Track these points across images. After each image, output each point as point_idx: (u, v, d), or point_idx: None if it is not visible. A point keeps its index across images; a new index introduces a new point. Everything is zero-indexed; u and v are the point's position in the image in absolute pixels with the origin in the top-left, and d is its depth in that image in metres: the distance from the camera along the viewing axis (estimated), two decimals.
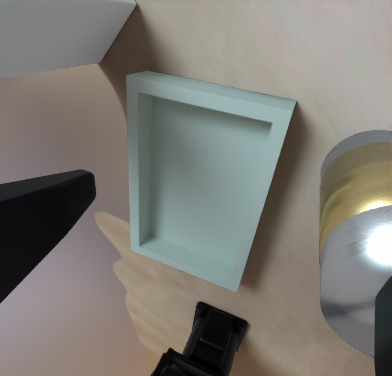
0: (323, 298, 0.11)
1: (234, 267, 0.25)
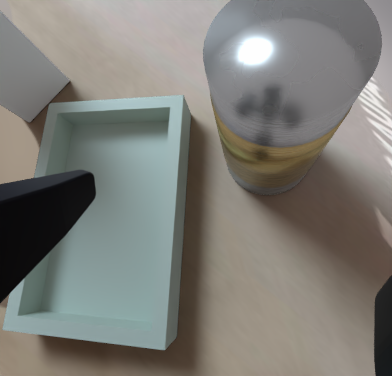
0: (208, 70, 0.11)
1: (156, 294, 0.18)
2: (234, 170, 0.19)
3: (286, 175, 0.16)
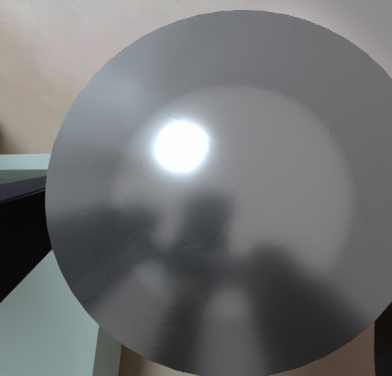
0: (51, 211, 0.05)
1: None
2: None
3: None
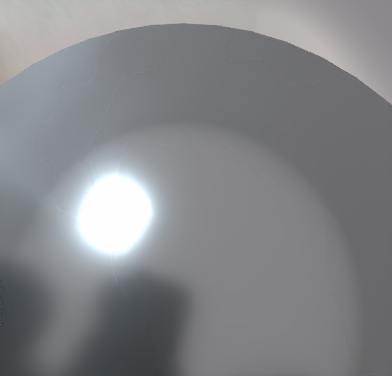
0: None
1: None
2: None
3: None
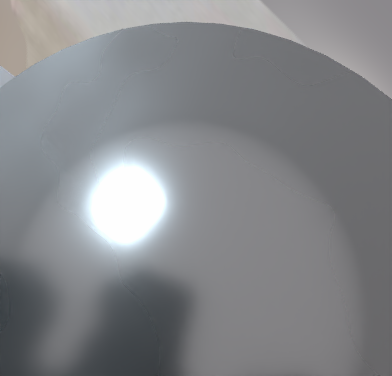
0: None
1: None
2: None
3: None
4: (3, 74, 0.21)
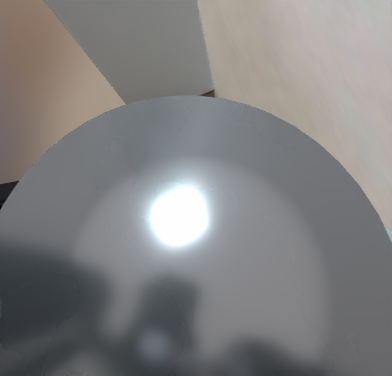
0: None
1: None
2: None
3: None
4: None
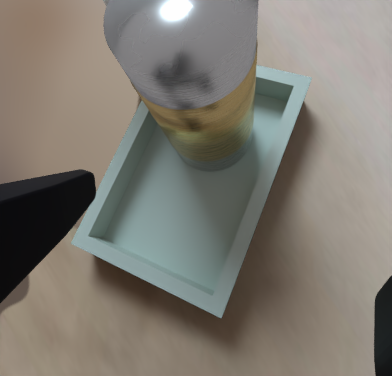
0: (109, 41, 0.11)
1: (227, 263, 0.18)
2: (177, 149, 0.19)
3: (220, 143, 0.17)
4: None
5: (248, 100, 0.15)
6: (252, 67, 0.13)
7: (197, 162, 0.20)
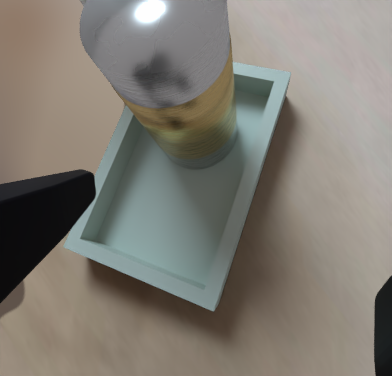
0: (85, 45, 0.12)
1: (217, 258, 0.18)
2: (163, 148, 0.20)
3: (204, 139, 0.17)
4: None
5: (227, 96, 0.15)
6: (227, 64, 0.13)
7: (184, 160, 0.21)
